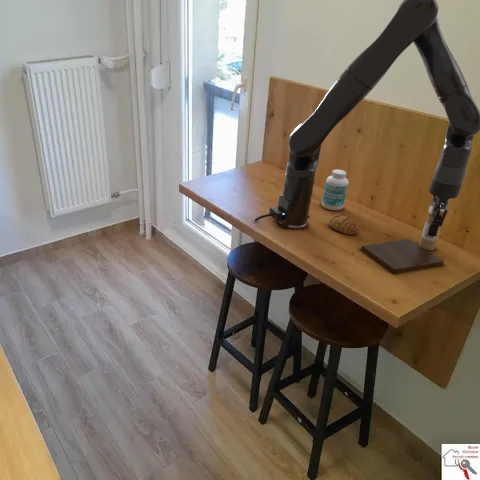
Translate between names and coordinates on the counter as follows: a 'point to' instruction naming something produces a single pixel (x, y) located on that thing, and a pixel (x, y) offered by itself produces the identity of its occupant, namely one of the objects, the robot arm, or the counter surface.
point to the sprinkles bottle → (426, 240)
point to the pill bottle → (335, 190)
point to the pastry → (343, 224)
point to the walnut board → (402, 256)
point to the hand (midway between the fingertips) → (430, 232)
